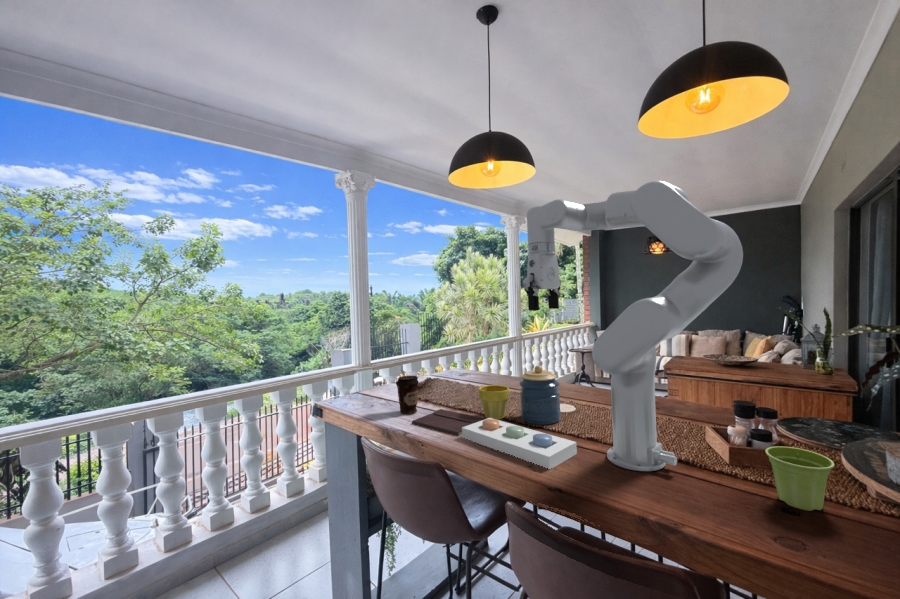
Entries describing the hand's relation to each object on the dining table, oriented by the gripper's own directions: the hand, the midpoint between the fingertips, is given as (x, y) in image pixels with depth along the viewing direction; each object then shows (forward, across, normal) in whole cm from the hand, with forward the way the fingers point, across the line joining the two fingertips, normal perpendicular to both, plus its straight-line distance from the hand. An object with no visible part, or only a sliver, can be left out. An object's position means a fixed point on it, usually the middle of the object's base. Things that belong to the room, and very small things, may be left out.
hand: (544, 309), depth 108 cm
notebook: (+38, -12, +31) cm, 50 cm away
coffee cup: (+37, -14, +51) cm, 64 cm away
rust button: (+35, -12, +12) cm, 39 cm away
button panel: (+37, -12, +3) cm, 39 cm away
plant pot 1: (+37, +3, +24) cm, 44 cm away
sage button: (+35, -12, +3) cm, 37 cm away
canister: (+37, +11, +11) cm, 40 cm away
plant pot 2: (+37, +2, -53) cm, 65 cm away
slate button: (+35, -12, -6) cm, 38 cm away
